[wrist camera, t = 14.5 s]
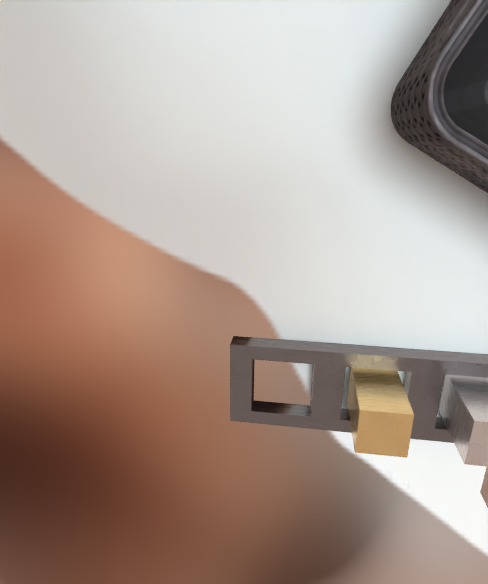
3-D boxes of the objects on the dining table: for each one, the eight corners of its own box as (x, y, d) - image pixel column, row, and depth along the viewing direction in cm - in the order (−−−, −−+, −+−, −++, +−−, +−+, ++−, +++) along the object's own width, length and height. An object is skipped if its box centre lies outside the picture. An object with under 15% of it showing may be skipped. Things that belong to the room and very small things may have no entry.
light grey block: (438, 410, 45) (464, 464, 37) (445, 372, 43) (474, 420, 36) (484, 414, 44) (520, 469, 37) (493, 376, 43) (532, 426, 35)
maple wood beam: (347, 401, 46) (354, 452, 39) (351, 364, 45) (359, 410, 37) (390, 405, 46) (407, 457, 38) (396, 368, 44) (414, 414, 37)
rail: (233, 409, 49) (230, 420, 47) (233, 336, 45) (230, 344, 44) (512, 436, 45) (521, 449, 43) (534, 358, 41) (544, 368, 40)
